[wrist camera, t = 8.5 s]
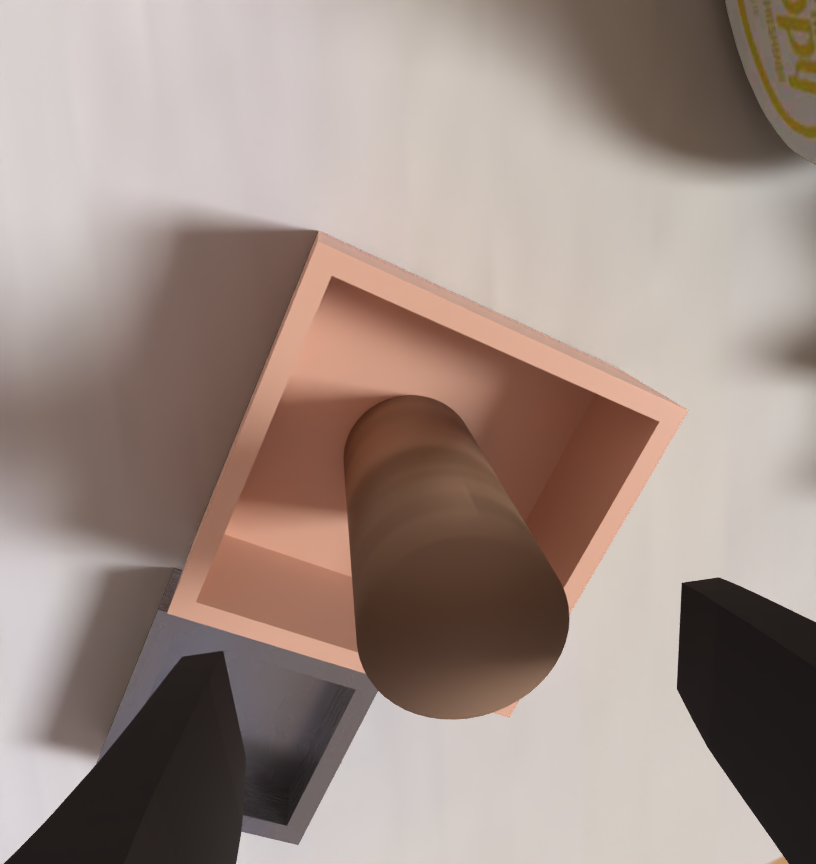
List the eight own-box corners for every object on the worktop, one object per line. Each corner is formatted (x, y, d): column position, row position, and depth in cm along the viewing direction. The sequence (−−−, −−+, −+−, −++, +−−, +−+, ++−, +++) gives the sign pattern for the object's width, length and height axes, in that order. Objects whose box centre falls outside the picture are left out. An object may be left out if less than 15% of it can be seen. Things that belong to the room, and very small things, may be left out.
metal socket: (300, 789, 23) (298, 844, 21) (105, 739, 22) (84, 794, 20) (378, 633, 21) (384, 678, 19) (174, 568, 20) (158, 609, 18)
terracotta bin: (477, 626, 22) (509, 717, 18) (196, 532, 20) (167, 613, 16) (618, 368, 20) (688, 410, 16) (318, 230, 17) (317, 241, 14)
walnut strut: (475, 510, 20) (567, 705, 12) (349, 523, 20) (365, 732, 12) (471, 389, 19) (570, 523, 11) (337, 401, 18) (346, 548, 11)
